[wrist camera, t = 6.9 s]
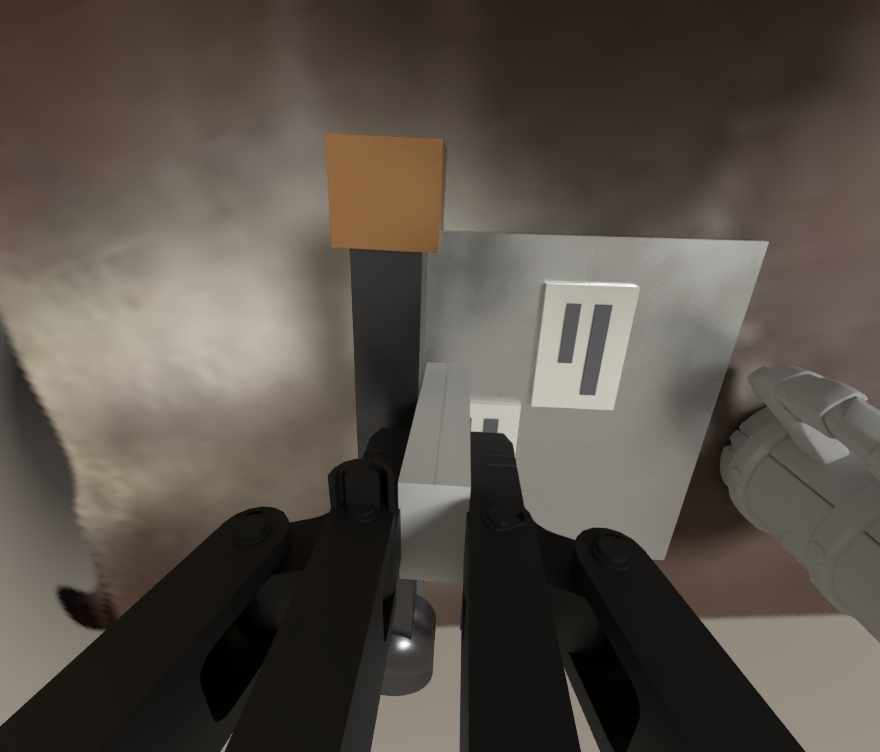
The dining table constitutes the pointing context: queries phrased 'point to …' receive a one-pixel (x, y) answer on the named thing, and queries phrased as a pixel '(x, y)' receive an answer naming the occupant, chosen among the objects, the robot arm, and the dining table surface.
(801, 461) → the mug
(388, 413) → the grey lever orange grip
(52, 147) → the dining table surface
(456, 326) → the plate
